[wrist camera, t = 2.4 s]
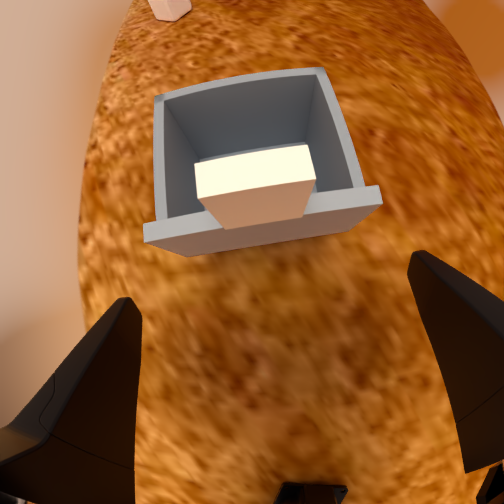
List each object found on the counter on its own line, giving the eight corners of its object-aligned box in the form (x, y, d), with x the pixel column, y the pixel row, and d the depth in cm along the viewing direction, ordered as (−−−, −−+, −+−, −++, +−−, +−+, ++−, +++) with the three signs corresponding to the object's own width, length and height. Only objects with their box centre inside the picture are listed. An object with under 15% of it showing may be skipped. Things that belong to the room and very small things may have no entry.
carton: (330, 228, 21) (366, 190, 12) (203, 249, 22) (156, 224, 13) (309, 138, 22) (323, 67, 13) (193, 157, 23) (154, 96, 14)
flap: (348, 232, 16) (429, 168, 6) (187, 258, 17) (87, 225, 7) (345, 217, 16) (418, 137, 7) (185, 242, 17) (87, 193, 7)
